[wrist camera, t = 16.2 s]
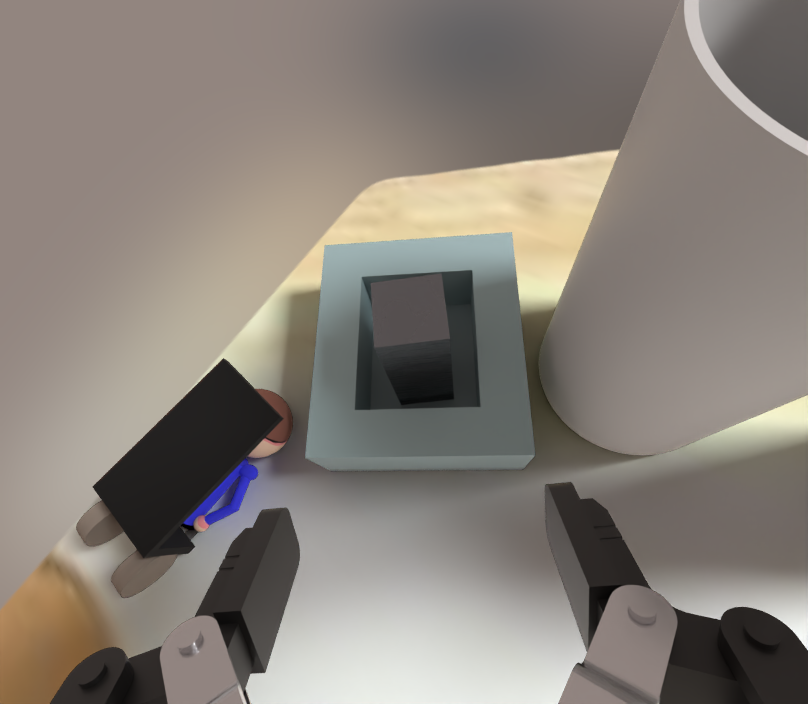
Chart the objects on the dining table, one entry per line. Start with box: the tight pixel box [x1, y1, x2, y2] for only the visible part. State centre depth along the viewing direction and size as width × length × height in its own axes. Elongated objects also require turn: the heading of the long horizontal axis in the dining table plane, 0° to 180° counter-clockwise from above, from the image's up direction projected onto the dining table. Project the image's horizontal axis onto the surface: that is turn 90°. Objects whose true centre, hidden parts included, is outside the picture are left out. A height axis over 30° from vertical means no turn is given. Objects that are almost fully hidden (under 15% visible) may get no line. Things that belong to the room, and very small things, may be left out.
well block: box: [305, 232, 535, 471], centre depth 33 cm, size 14×16×6 cm
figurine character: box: [76, 358, 293, 598], centre depth 31 cm, size 7×8×15 cm
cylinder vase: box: [539, 0, 808, 455], centre depth 22 cm, size 12×12×25 cm
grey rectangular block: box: [371, 273, 454, 405], centre depth 29 cm, size 6×4×11 cm, turn 4°
